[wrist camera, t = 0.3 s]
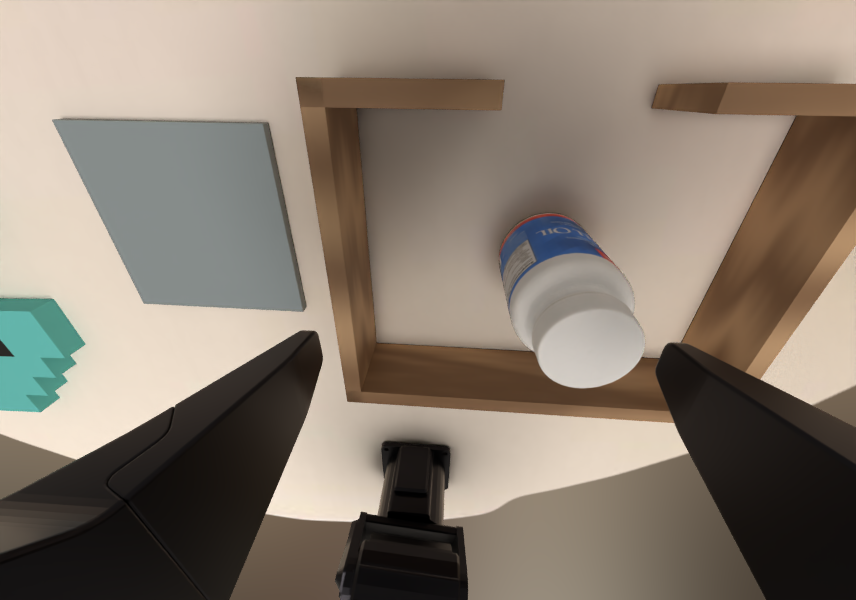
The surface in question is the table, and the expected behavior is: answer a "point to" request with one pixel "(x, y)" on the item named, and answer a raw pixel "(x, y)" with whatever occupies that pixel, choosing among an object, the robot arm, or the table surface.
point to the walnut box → (639, 389)
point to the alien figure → (34, 353)
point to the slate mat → (191, 209)
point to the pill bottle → (569, 302)
